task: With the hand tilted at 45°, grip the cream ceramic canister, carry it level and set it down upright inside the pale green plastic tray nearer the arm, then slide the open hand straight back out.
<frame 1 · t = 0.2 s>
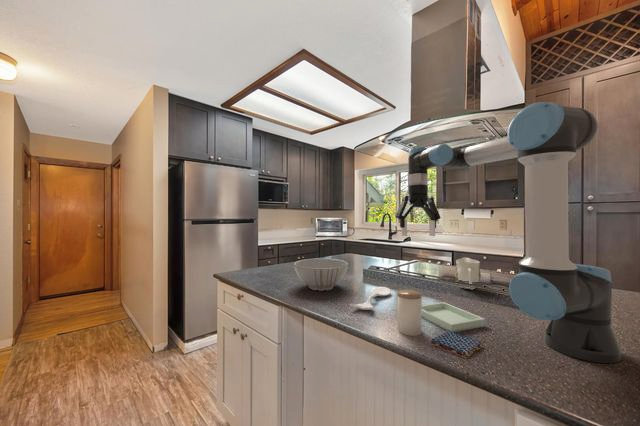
hand: (418, 236, 116), 27 cm above the worktop, tool pointing down, fingers open, 13 cm apart
spoon: (373, 302, 117), on the worktop
canister: (409, 330, 89), on the worktop
woven mat: (455, 347, 79), on the worktop
tray: (447, 319, 98), on the worktop
pitcher: (467, 289, 135), on the worktop
decorative bowl: (321, 287, 139), on the worktop
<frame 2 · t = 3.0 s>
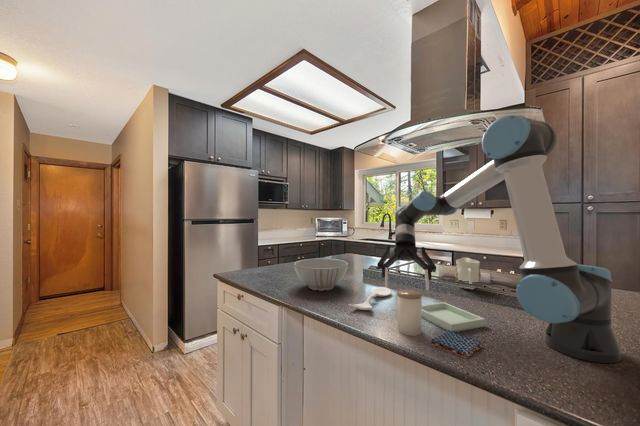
hand: (406, 286, 96), 12 cm above the worktop, tool tilted 45°, fingers open, 13 cm apart
nothing on the worktop moved.
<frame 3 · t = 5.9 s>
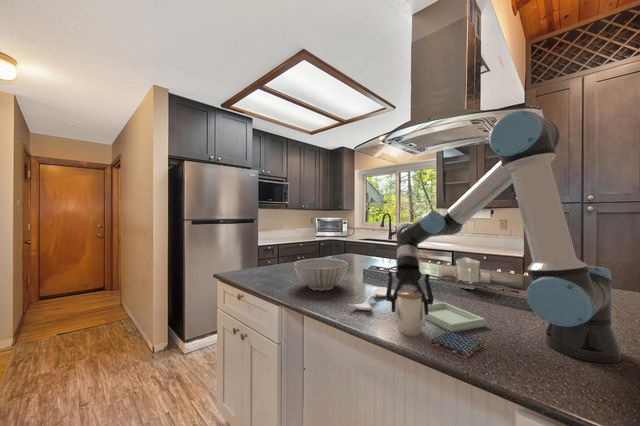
hand: (410, 323, 85), 4 cm above the worktop, tool tilted 45°, fingers closed on canister, 7 cm apart
canister: (409, 330, 89), on the worktop, touching gripper
everything else where it was.
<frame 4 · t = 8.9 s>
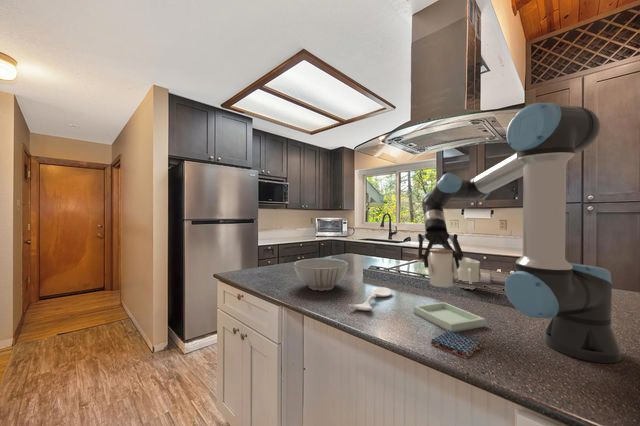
hand: (443, 275, 93), 16 cm above the worktop, tool tilted 45°, fingers closed on canister, 7 cm apart
canister: (441, 284, 96), point 13 cm above the worktop, touching gripper
everything else where it was.
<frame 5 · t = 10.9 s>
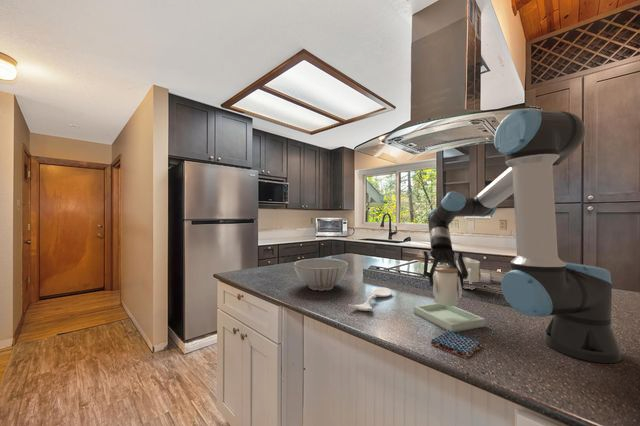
hand: (447, 294, 95), 9 cm above the worktop, tool tilted 45°, fingers closed on canister, 7 cm apart
canister: (446, 302, 98), point 6 cm above the worktop, touching gripper
everything else where it was.
when the fingers open (5 cm above the worktop, at t = 12.3 s): canister stays where it is, resting on tray.
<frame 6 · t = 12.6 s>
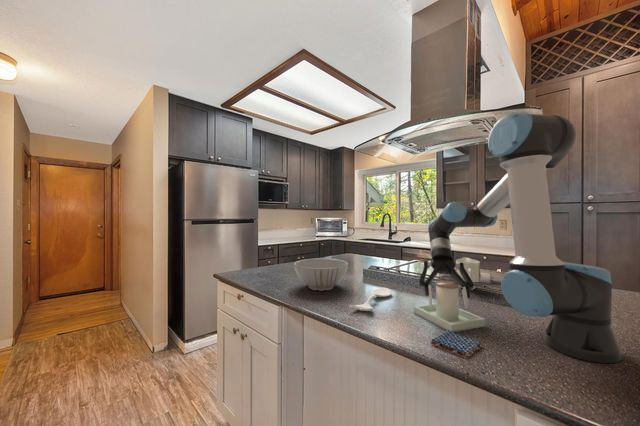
hand: (448, 305, 95), 6 cm above the worktop, tool tilted 45°, fingers open, 10 cm apart
canister: (447, 317, 98), point 1 cm above the worktop, touching tray
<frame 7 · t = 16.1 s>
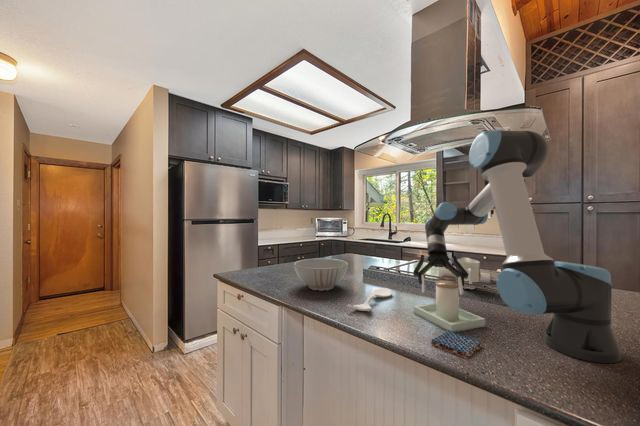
hand: (442, 292, 107), 7 cm above the worktop, tool tilted 45°, fingers open, 13 cm apart
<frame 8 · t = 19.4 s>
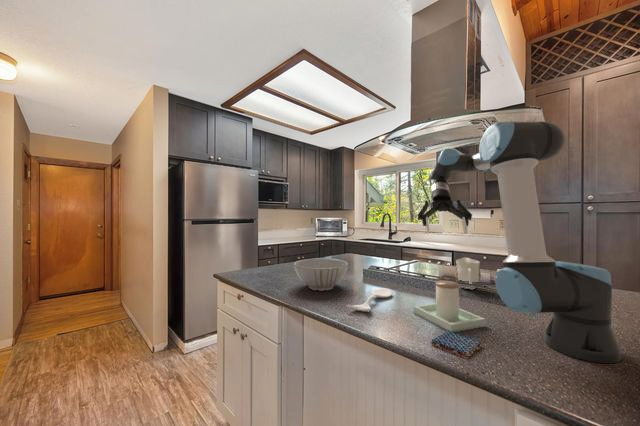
hand: (446, 231, 109), 30 cm above the worktop, tool tilted 45°, fingers open, 13 cm apart
at the end: canister inside the target area on the tray (0.1 cm from its centre), point 0.6 cm above the tray's base; canister tilted 0°; the gripper is holding nothing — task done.
